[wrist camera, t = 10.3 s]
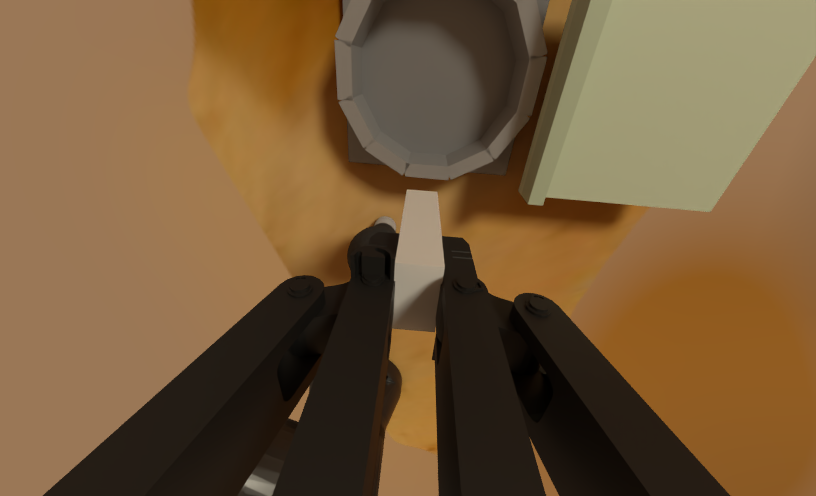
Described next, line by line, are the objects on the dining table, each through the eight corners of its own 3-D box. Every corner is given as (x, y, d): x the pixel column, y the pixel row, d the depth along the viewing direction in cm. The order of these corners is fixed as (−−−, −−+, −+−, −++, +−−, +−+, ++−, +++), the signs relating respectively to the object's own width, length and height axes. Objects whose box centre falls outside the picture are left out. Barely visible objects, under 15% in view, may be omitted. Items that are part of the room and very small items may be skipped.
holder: (503, 173, 30) (515, 189, 26) (350, 159, 31) (338, 173, 26) (555, -38, 22) (584, -62, 18) (343, -54, 22) (323, -81, 18)
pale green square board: (701, 207, 26) (730, 222, 23) (518, 190, 26) (527, 204, 23) (864, -44, 17) (939, -63, 15) (590, -64, 17) (617, -86, 15)
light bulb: (366, 244, 36) (346, 298, 27) (359, 201, 33) (334, 248, 24) (412, 242, 35) (406, 297, 27) (408, 199, 32) (400, 245, 24)
